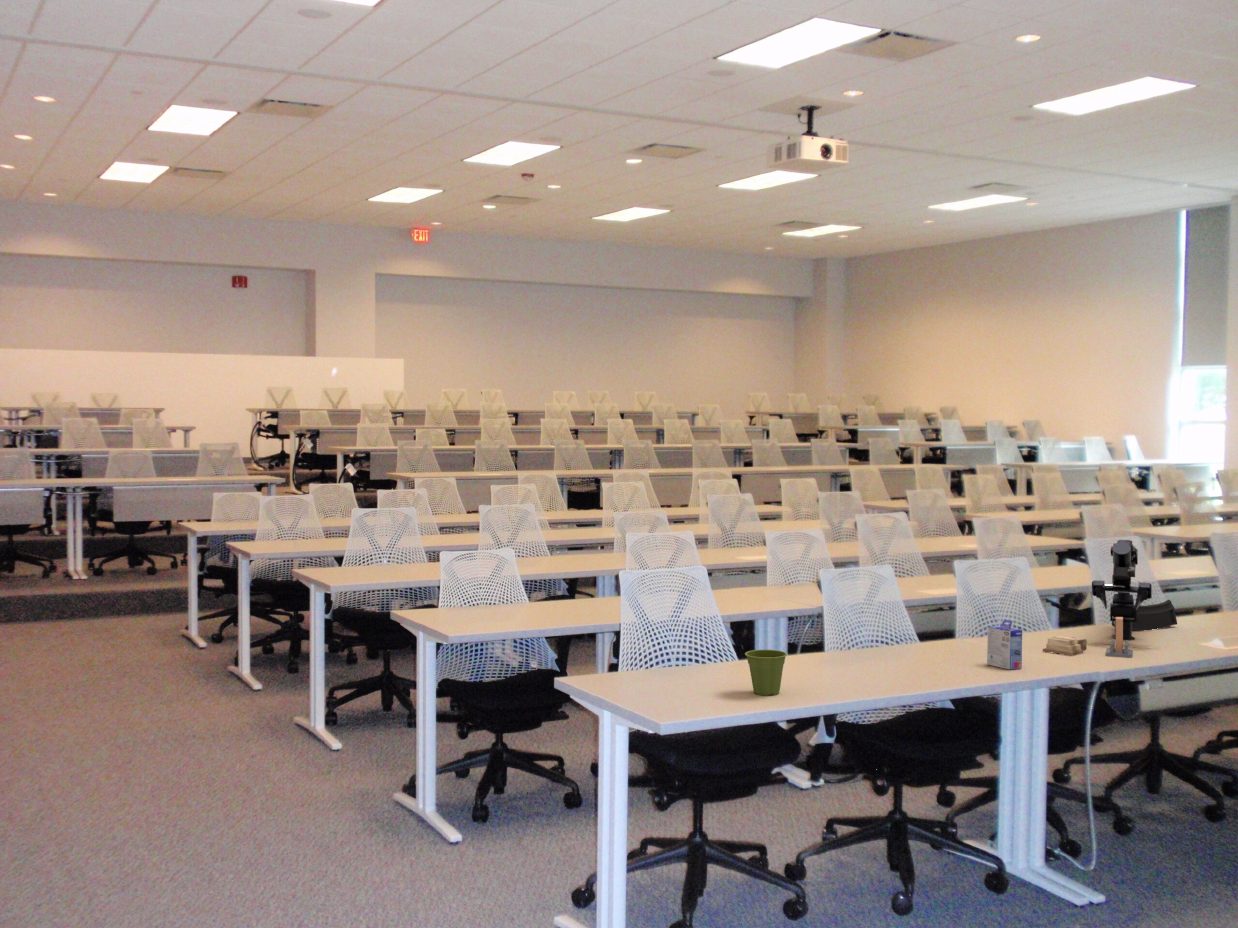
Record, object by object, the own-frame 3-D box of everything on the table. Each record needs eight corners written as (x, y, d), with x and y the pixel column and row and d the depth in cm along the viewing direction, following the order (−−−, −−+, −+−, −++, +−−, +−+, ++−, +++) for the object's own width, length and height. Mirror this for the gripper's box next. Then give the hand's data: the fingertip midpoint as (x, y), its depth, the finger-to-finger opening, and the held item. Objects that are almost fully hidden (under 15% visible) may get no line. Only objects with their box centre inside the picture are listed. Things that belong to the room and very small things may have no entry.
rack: (1065, 646, 390) (1065, 633, 390) (1093, 650, 383) (1093, 636, 383) (1042, 651, 381) (1042, 638, 381) (1071, 655, 373) (1071, 641, 373)
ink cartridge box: (1023, 668, 353) (1023, 622, 353) (1010, 670, 350) (1010, 623, 350) (999, 663, 362) (999, 617, 361) (986, 664, 359) (986, 619, 359)
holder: (1106, 650, 382) (1107, 638, 382) (1133, 652, 379) (1133, 640, 379) (1105, 655, 373) (1105, 643, 373) (1132, 657, 370) (1132, 645, 370)
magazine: (1175, 602, 433) (1119, 583, 421) (1182, 603, 430) (1126, 584, 418) (1165, 646, 431) (1109, 628, 419) (1172, 647, 428) (1116, 630, 416)
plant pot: (744, 688, 326) (744, 649, 326) (786, 688, 325) (786, 649, 325) (745, 697, 315) (745, 656, 314) (788, 698, 314) (788, 657, 313)
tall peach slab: (1116, 649, 378) (1116, 616, 378) (1122, 650, 378) (1122, 617, 377) (1115, 652, 374) (1115, 618, 374) (1122, 652, 373) (1122, 619, 373)
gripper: (1092, 557, 394) (1090, 592, 384) (1151, 559, 386) (1151, 595, 376) (1093, 577, 401) (1091, 612, 391) (1151, 579, 393) (1151, 616, 383)
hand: (1120, 608), depth 385 cm, fingers open, 9 cm apart
